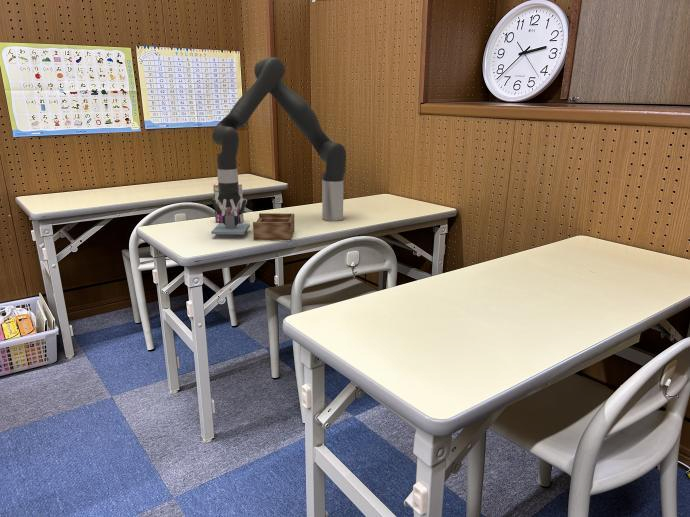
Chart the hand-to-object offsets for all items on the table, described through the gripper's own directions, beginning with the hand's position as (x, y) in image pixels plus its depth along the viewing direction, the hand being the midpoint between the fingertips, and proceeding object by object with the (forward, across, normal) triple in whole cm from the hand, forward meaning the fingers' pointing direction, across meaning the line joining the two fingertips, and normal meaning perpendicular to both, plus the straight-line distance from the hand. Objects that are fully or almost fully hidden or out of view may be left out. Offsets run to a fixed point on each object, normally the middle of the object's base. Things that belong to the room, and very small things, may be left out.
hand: (230, 224), depth 194 cm
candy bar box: (+4, +5, -20) cm, 21 cm away
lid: (+2, 0, 0) cm, 2 cm away
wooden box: (+4, -17, 0) cm, 18 cm away
